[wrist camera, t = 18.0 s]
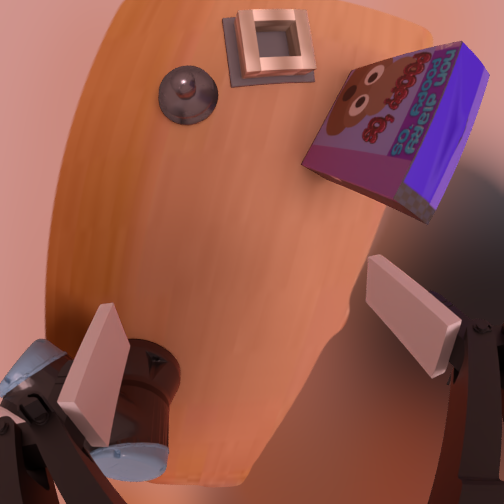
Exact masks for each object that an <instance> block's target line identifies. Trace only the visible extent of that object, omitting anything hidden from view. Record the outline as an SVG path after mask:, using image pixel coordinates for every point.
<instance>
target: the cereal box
mask: <svg viewBox="0 0 504 504" xmlns="http://www.w3.org/2000/svg"><path fill="white" fill-rule="evenodd" d="M489 76H490V75H489V73H488V72H487V70H486V69H485V67H484V66H483V64H482V63H481V61H480V60H479V59H478V58H477V57H476V55H474V53H473V52H472V51H471V50H470V49H469V48H468V47H467V46H466V45H465V44H464V43H463V42H462V41H459V42H453V43H449V44H444V45H439V46H435V47H431V48H426V49H422V50H418V51H415V52H411V53H407V54H403V55H400V56H396V57H393V58H389V59H386V60H383V61H379V62H376V63H373V64H370V65H367V66H364V67H361V68H358V69H355V70H352V71H351V72H350V74H349V76H348V78H347V80H346V82H345V84H344V85H343V87H342V89H341V91H340V93H339V95H338V97H337V98H336V100H335V102H334V104H333V106H332V108H331V110H330V112H329V113H328V115H327V117H326V119H325V121H324V123H323V125H322V126H321V128H320V130H319V132H318V134H317V136H316V138H315V139H314V141H313V143H312V145H311V147H310V149H309V151H308V152H307V154H306V156H305V158H304V160H303V162H302V164H301V165H303V166H305V167H306V168H308V169H310V170H312V171H313V172H315V173H317V174H318V175H320V176H322V177H324V178H325V179H327V180H329V181H332V182H334V183H337V184H339V185H342V186H344V187H346V188H349V189H351V190H354V191H356V192H358V193H360V194H363V195H365V196H367V197H370V198H372V199H374V200H376V201H379V202H381V203H383V204H385V205H387V206H390V207H392V208H394V209H396V210H398V211H400V212H402V213H404V214H407V215H409V216H411V217H413V218H415V219H417V220H419V221H421V222H423V223H425V224H427V225H428V224H429V222H430V220H431V218H432V216H433V214H434V212H435V210H436V208H437V206H438V204H439V202H440V200H441V198H442V196H443V194H444V192H445V190H446V188H447V186H448V184H449V181H450V179H451V177H452V175H453V173H454V170H455V168H456V166H457V164H458V161H459V159H460V157H461V154H462V152H463V149H464V147H465V145H466V142H467V140H468V137H469V135H470V132H471V130H472V126H473V124H474V121H475V119H476V116H477V113H478V110H479V107H480V104H481V101H482V98H483V95H484V92H485V88H486V86H487V82H488V79H489Z"/></svg>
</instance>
